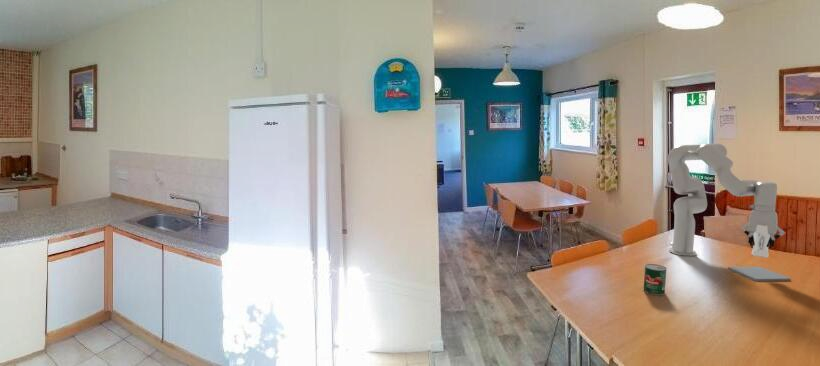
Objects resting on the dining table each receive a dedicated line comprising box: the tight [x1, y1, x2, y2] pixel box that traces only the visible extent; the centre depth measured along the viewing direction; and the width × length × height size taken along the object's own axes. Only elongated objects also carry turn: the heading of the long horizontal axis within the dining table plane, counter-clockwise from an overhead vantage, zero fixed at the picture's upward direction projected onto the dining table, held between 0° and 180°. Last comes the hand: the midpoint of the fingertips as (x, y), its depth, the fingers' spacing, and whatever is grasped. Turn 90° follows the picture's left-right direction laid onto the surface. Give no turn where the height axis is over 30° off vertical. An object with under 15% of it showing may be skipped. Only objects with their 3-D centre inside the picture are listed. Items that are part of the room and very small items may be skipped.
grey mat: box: [727, 266, 792, 282], centre depth 191 cm, size 16×16×1 cm
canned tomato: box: [643, 263, 667, 296], centre depth 172 cm, size 8×8×11 cm
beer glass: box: [751, 225, 771, 258], centre depth 188 cm, size 7×7×15 cm
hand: (760, 246), depth 189 cm, fingers closed on beer glass, 6 cm apart
